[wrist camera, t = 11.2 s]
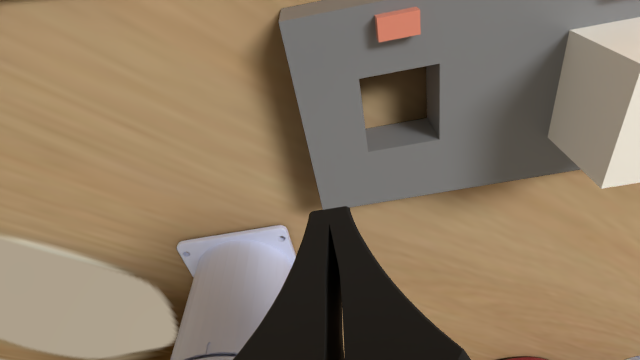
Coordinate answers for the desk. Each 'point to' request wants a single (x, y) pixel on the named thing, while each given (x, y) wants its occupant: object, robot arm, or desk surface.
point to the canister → (526, 358)
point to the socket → (433, 90)
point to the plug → (601, 102)
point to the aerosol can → (634, 358)
